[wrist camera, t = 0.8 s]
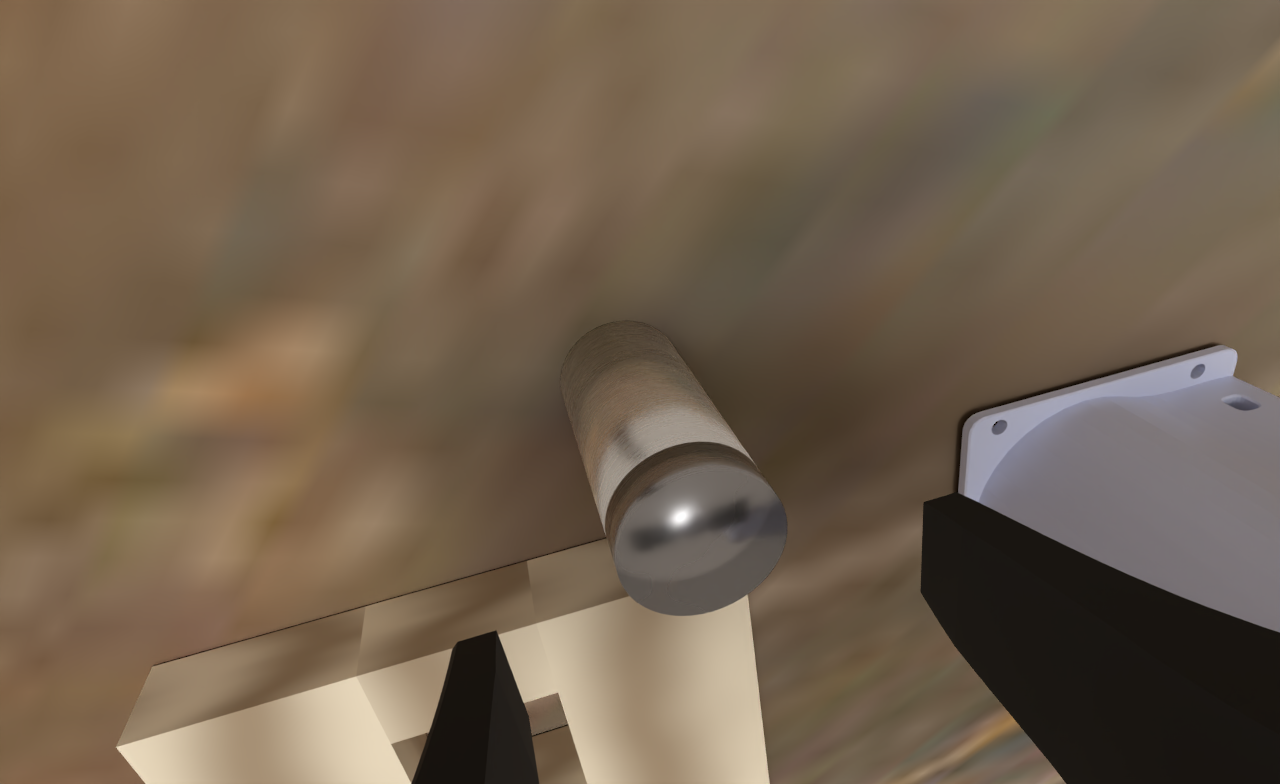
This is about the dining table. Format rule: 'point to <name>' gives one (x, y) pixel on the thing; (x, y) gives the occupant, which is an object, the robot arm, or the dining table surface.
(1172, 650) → the robot arm
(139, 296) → the dining table surface
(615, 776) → the block
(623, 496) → the steel pin
